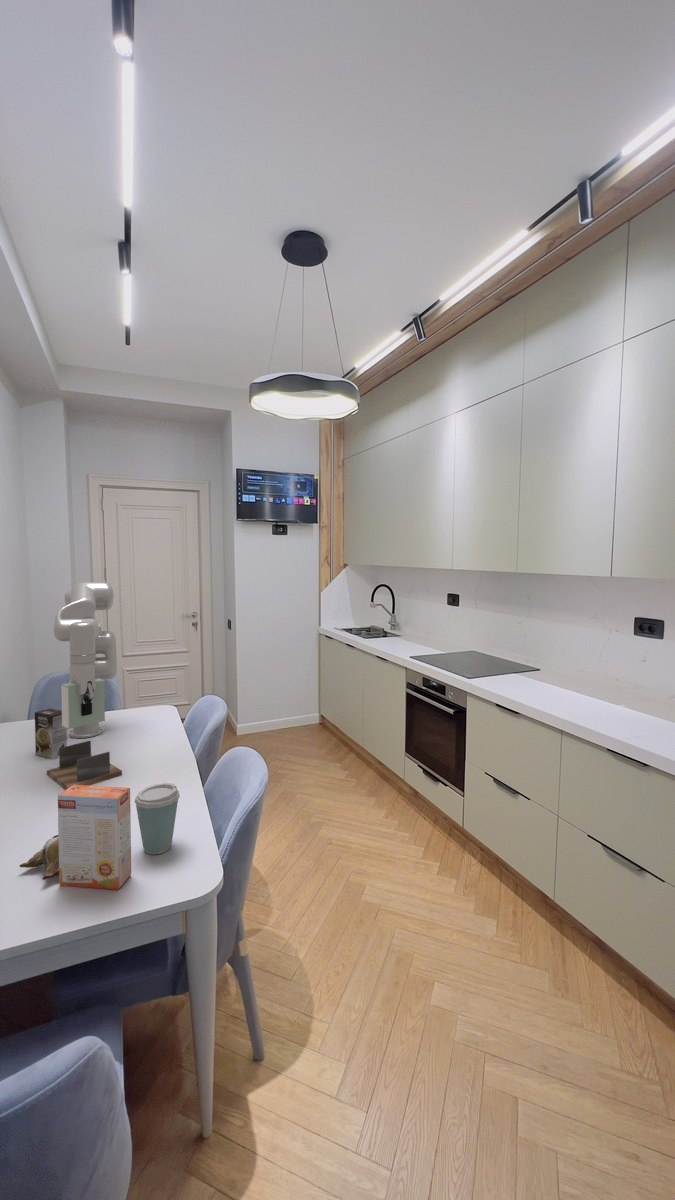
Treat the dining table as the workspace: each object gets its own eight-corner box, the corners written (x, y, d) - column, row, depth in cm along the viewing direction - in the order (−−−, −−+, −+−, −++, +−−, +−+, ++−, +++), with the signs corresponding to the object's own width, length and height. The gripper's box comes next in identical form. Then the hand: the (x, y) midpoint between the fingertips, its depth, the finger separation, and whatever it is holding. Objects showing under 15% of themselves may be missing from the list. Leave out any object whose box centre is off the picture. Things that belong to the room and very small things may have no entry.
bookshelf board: (46, 774, 166) (46, 749, 165) (98, 760, 179) (98, 737, 178) (68, 791, 154) (67, 765, 154) (121, 775, 167) (121, 750, 166)
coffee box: (34, 755, 182) (33, 712, 181) (50, 749, 188) (49, 707, 187) (52, 759, 179) (51, 715, 178) (68, 753, 185) (67, 710, 184)
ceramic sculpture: (104, 821, 121) (42, 855, 108) (106, 854, 122) (45, 892, 109) (77, 810, 126) (15, 841, 113) (80, 842, 127) (19, 876, 114)
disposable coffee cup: (135, 863, 118) (134, 802, 117) (134, 840, 128) (133, 784, 127) (181, 854, 122) (181, 795, 121) (177, 832, 132) (177, 777, 131)
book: (62, 726, 162) (61, 684, 161) (99, 718, 171) (99, 678, 170) (67, 729, 159) (66, 686, 158) (104, 720, 169) (104, 680, 168)
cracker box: (132, 874, 114) (131, 786, 113) (118, 891, 108) (117, 798, 107) (75, 869, 116) (73, 782, 114) (58, 886, 110) (56, 794, 108)
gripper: (60, 657, 166) (61, 710, 168) (81, 664, 155) (82, 721, 157) (84, 654, 172) (84, 706, 173) (105, 661, 161) (106, 716, 162)
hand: (83, 712), depth 165 cm, fingers closed on book, 4 cm apart
